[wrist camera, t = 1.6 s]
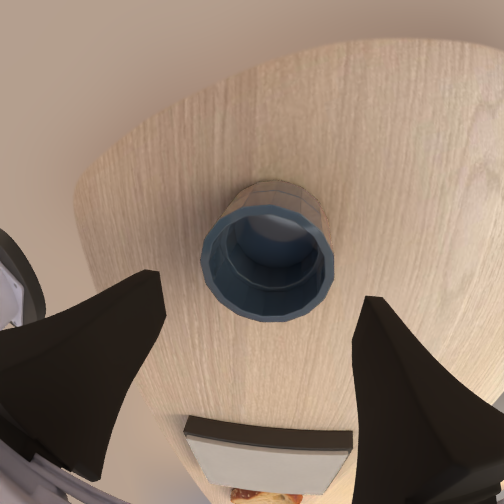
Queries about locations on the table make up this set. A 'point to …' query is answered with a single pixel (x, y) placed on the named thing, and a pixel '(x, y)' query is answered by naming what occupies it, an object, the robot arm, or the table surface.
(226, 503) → the table surface
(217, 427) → the scale
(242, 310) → the cup
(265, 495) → the slice of bread
